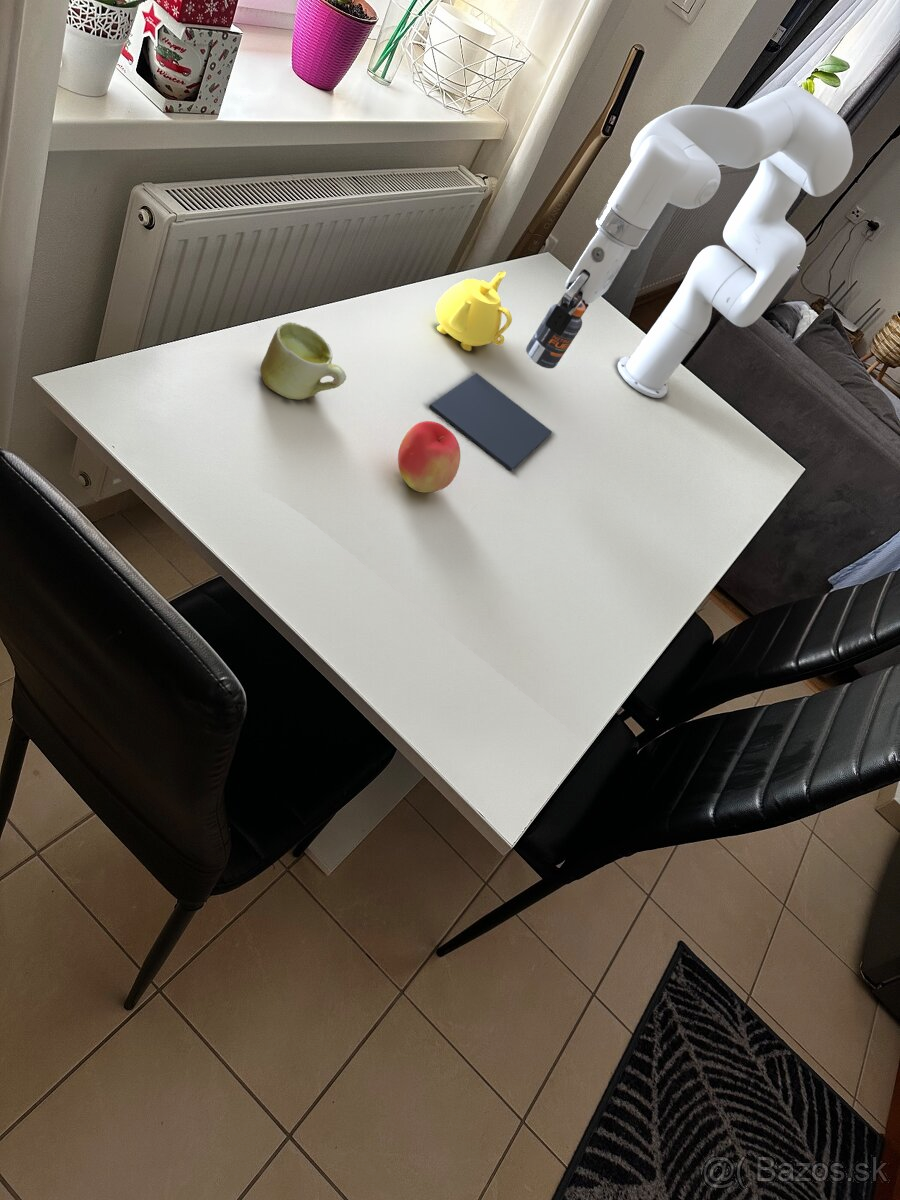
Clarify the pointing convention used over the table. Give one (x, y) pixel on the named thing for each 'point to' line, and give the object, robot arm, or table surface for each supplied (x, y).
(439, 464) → the apple
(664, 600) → the table surface
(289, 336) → the mug
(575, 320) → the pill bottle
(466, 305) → the teapot
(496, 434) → the mat
